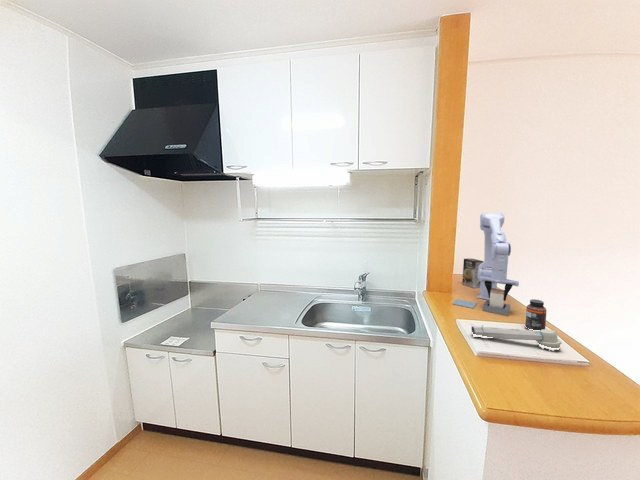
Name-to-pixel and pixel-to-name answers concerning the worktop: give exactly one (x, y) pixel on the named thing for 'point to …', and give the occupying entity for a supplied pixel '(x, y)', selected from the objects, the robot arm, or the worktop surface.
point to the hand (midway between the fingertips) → (497, 298)
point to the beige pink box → (497, 298)
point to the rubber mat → (464, 303)
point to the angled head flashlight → (520, 335)
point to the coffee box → (471, 273)
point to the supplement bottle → (535, 315)
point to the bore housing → (496, 308)
